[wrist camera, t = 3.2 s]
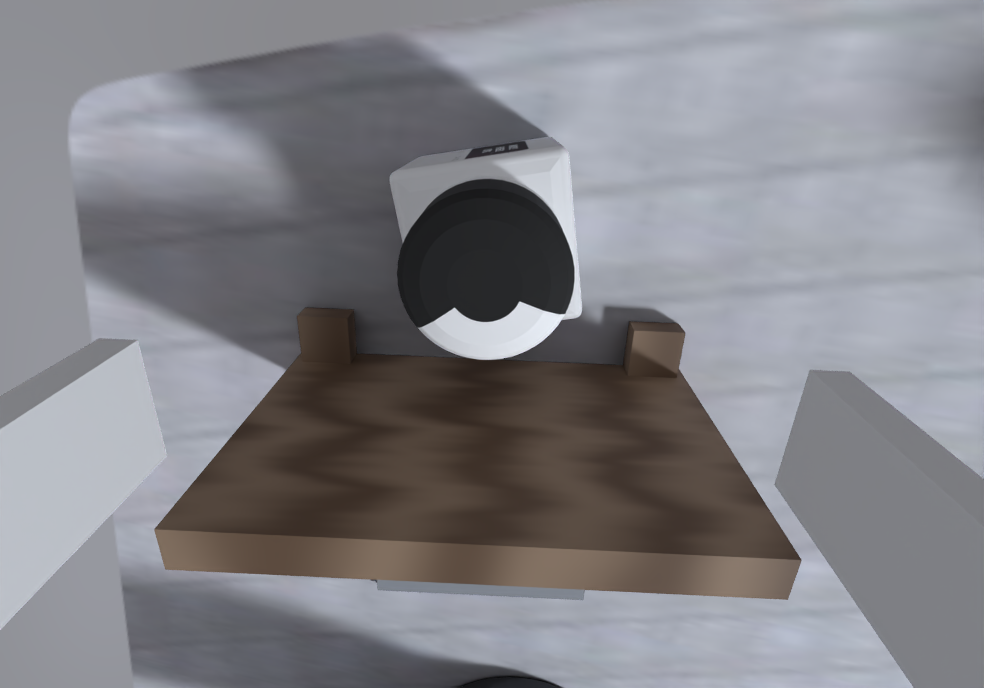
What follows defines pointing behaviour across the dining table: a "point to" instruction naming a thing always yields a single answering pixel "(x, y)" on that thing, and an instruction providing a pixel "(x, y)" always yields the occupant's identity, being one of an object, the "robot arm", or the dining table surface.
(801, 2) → the dining table surface
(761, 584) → the screen
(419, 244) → the container
